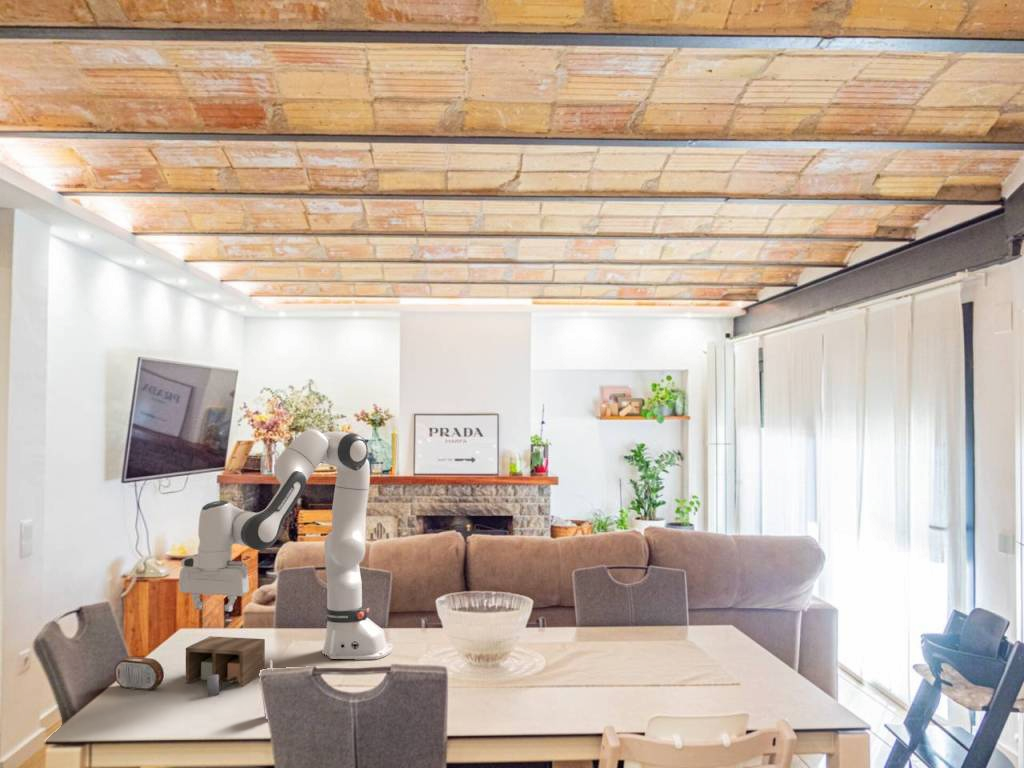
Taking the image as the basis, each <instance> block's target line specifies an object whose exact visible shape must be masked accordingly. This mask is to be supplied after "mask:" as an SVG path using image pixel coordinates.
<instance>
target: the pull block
mask: <svg viewBox="0 0 1024 768" xmlns="http://www.w3.org/2000/svg"><path fill="white" fill-rule="evenodd" d="M206 680H207V681H206V682H207V683H206V685H207V687H206V688H207V689H206V691H207V692H206V693H207V695H208V696H207V695H206V696H207V697H216V696H218V695H219V694H220V689H222V688H223V687H225V686H227V685H228V684H230V683H232V682H240V657H238V658H236V659H234V660H233V661H231V662H229V663H228V678H227V679H226V681H224V682H222V683H219V675H218V674H212V675H209V676H207V679H206Z"/></svg>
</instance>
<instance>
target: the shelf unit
mask: <svg viewBox="0 0 1024 768" xmlns="http://www.w3.org/2000/svg"><path fill="white" fill-rule="evenodd" d="M265 642H266V641H265V638H255V637H254V638H249V637H232V636H231V637H230V636H229V637H227V636H207V637H206V638H204V639H201V640H200V641H197V642H196V643H193V644H192V645H188V646H187V647H185V684H190V683H191V682H194V681H195V679H196V680H198V679H199V678H201V662H202V661H204V660H206V659H208V658H210V657H212V674H218V675H219V684H221V681H222V682H223V681H225V680H227V679H228V663H229V662H231V661H233V660H234V659H236V658H238V657H240V681H239V687H241V688H243V687H244V686H246V685H247V684H249V683H251V682H252V681H254V680H256V679H258V678H260V676H259V673H260V670H262V669H265V670H266V667H265V666H266V664H265V663H266V659H265V658H266V656H265V655H266V654H265V653H266V646H265V645H266V643H265ZM226 678H227V679H226ZM255 678H256V679H255Z"/></svg>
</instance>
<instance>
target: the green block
mask: <svg viewBox="0 0 1024 768" xmlns="http://www.w3.org/2000/svg"><path fill="white" fill-rule="evenodd" d="M209 675H212V657H210V658H208V659H206V660H204V661H202V662H201V677H200V679H201V680H207V676H209Z"/></svg>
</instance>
